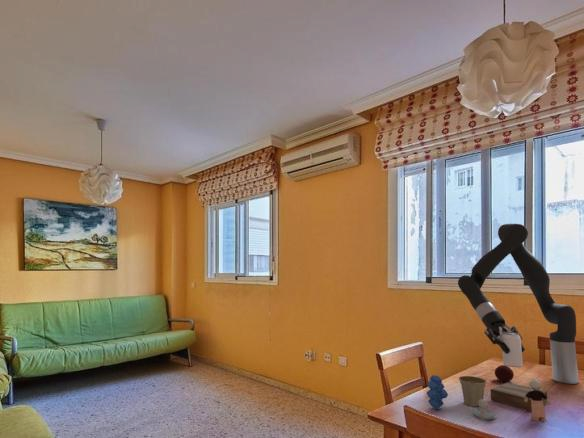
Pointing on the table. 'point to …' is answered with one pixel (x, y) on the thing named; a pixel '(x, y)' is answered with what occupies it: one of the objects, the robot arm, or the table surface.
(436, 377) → the grapes
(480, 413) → the pacifier
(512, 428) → the table surface
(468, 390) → the flower pot
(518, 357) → the can
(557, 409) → the table surface
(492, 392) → the walnut block
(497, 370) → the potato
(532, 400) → the grandmother figurine
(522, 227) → the robot arm
